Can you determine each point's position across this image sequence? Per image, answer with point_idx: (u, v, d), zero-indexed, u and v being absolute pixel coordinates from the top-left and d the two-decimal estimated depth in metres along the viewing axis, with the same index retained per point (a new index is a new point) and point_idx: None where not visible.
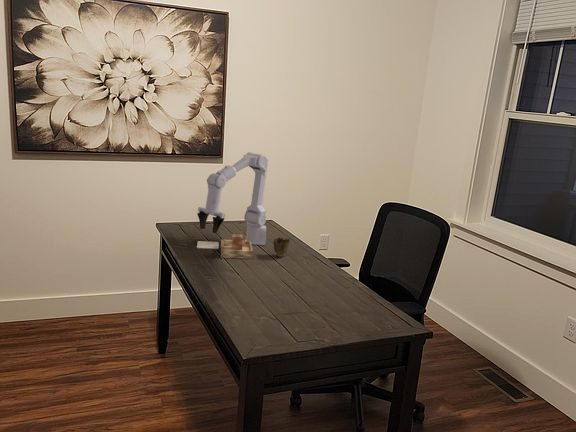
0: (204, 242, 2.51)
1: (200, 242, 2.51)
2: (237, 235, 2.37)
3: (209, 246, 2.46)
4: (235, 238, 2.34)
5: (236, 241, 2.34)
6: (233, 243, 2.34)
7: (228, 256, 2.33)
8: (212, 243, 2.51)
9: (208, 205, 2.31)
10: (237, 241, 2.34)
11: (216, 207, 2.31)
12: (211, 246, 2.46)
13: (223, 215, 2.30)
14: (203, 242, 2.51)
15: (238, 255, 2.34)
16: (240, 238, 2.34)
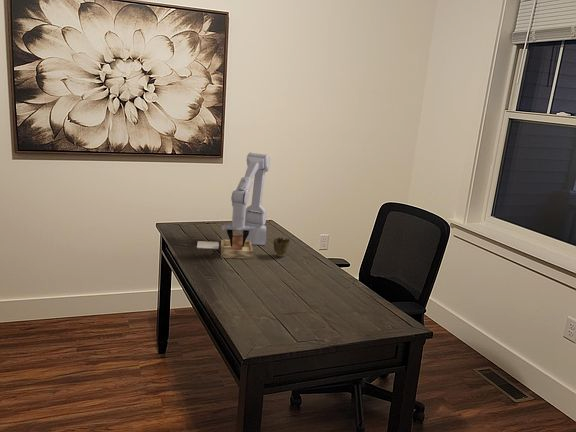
0: (204, 242, 2.51)
1: (200, 242, 2.51)
2: (237, 235, 2.37)
3: (209, 246, 2.46)
4: (235, 238, 2.34)
5: (236, 241, 2.34)
6: (233, 243, 2.34)
7: (228, 256, 2.33)
8: (212, 243, 2.51)
9: (238, 223, 2.32)
10: (237, 241, 2.34)
11: (244, 222, 2.35)
12: (211, 246, 2.46)
13: None
14: (203, 242, 2.51)
15: (238, 255, 2.34)
16: (240, 238, 2.34)
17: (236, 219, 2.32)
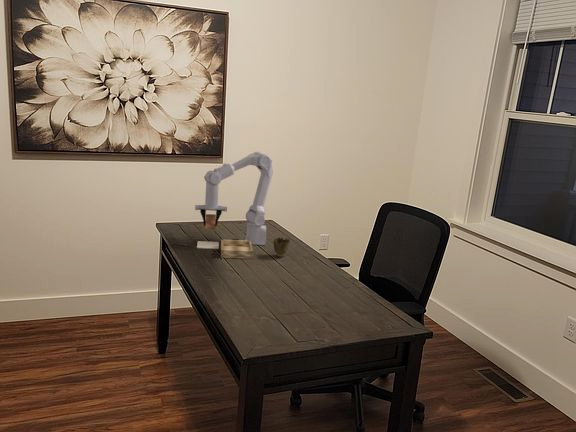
0: (204, 242, 2.51)
1: (200, 242, 2.51)
2: (210, 215, 2.45)
3: (209, 246, 2.46)
4: (208, 218, 2.42)
5: (209, 221, 2.43)
6: (206, 222, 2.43)
7: (228, 256, 2.33)
8: (212, 243, 2.51)
9: (211, 202, 2.40)
10: (210, 220, 2.43)
11: (217, 202, 2.43)
12: (211, 246, 2.46)
13: (226, 208, 2.44)
14: (203, 242, 2.51)
15: (238, 255, 2.34)
16: (213, 217, 2.42)
17: (209, 199, 2.40)
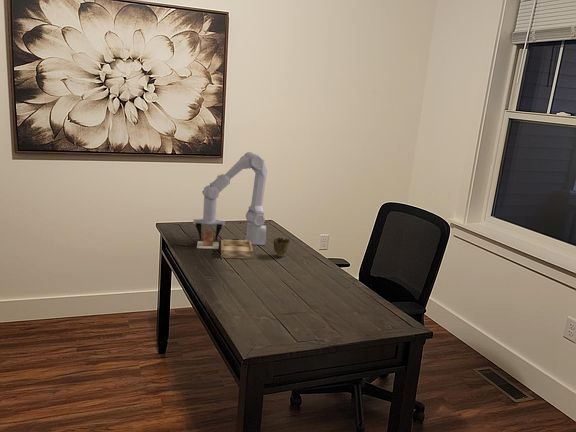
0: None
1: (200, 242, 2.51)
2: (208, 232, 2.47)
3: (209, 246, 2.46)
4: (206, 235, 2.45)
5: (206, 238, 2.45)
6: (204, 239, 2.45)
7: (228, 256, 2.33)
8: None
9: (209, 217, 2.42)
10: (208, 237, 2.45)
11: (215, 217, 2.45)
12: (211, 246, 2.46)
13: (224, 222, 2.47)
14: None
15: (238, 255, 2.34)
16: (211, 235, 2.45)
17: (207, 213, 2.42)
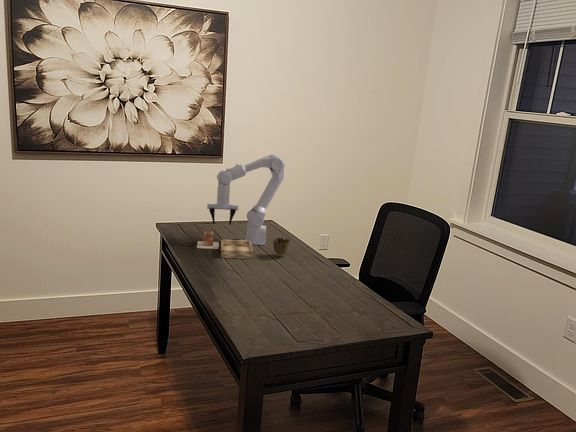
0: None
1: (200, 242, 2.51)
2: (208, 232, 2.47)
3: (209, 246, 2.46)
4: (206, 235, 2.45)
5: (206, 238, 2.45)
6: (204, 239, 2.45)
7: (228, 256, 2.33)
8: None
9: (223, 201, 2.46)
10: (208, 237, 2.45)
11: (228, 201, 2.49)
12: (211, 246, 2.46)
13: None
14: None
15: (238, 255, 2.34)
16: (211, 235, 2.45)
17: (220, 198, 2.46)
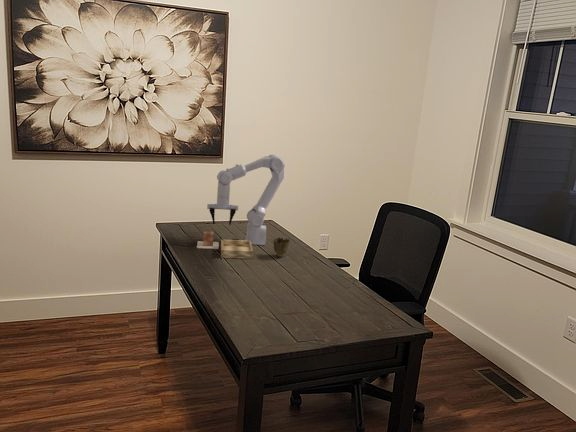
0: None
1: (200, 242, 2.51)
2: (208, 232, 2.47)
3: (209, 246, 2.46)
4: (206, 235, 2.45)
5: (206, 238, 2.45)
6: (204, 239, 2.45)
7: (228, 256, 2.33)
8: None
9: (223, 201, 2.46)
10: (208, 237, 2.45)
11: (228, 201, 2.49)
12: (211, 246, 2.46)
13: None
14: None
15: (238, 255, 2.34)
16: (211, 235, 2.45)
17: (220, 198, 2.46)
